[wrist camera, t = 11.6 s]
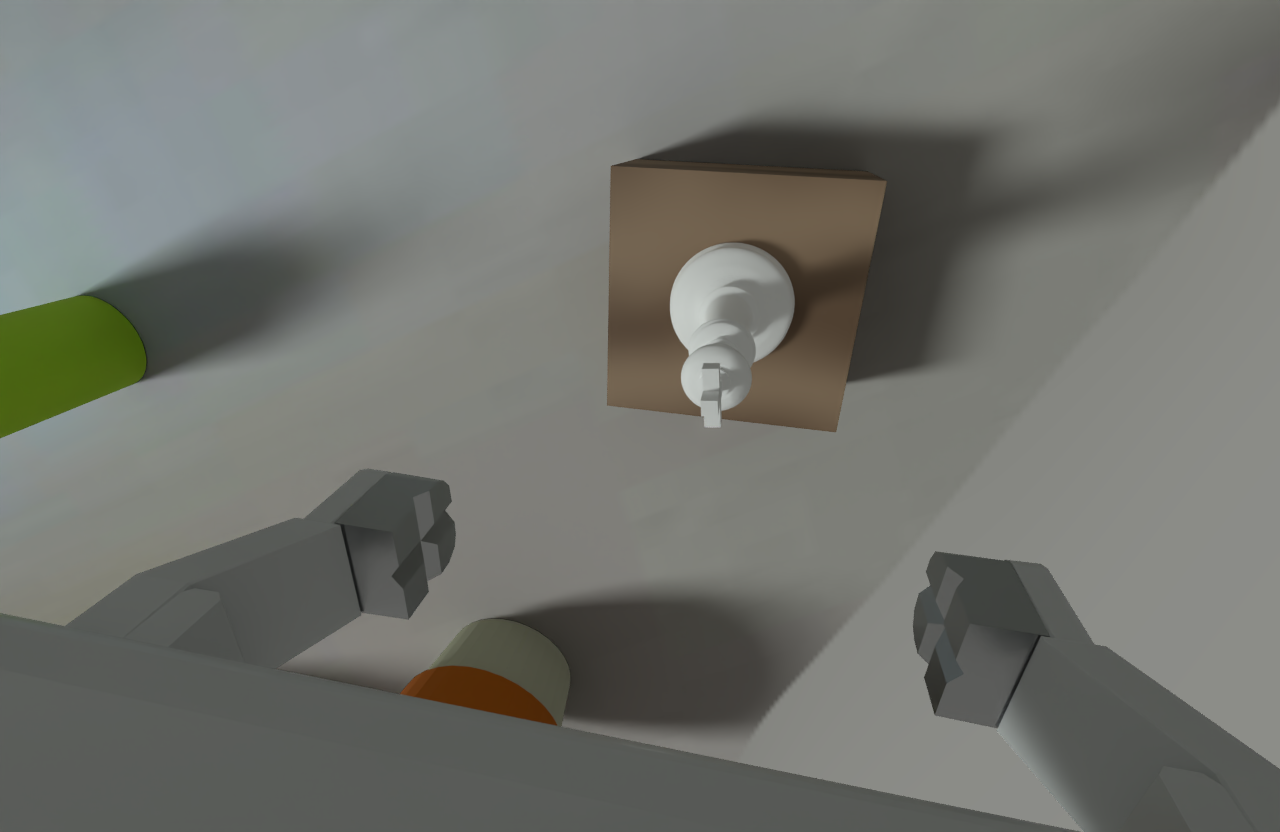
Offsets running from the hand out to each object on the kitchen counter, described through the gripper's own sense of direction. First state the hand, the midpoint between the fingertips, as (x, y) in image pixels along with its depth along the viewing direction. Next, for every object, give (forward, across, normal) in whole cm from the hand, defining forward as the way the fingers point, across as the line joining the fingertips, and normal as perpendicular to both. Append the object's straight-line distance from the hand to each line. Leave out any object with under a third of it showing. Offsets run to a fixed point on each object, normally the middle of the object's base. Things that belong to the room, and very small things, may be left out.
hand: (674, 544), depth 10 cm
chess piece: (+16, 0, 0) cm, 16 cm away
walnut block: (+21, 0, +1) cm, 21 cm away
